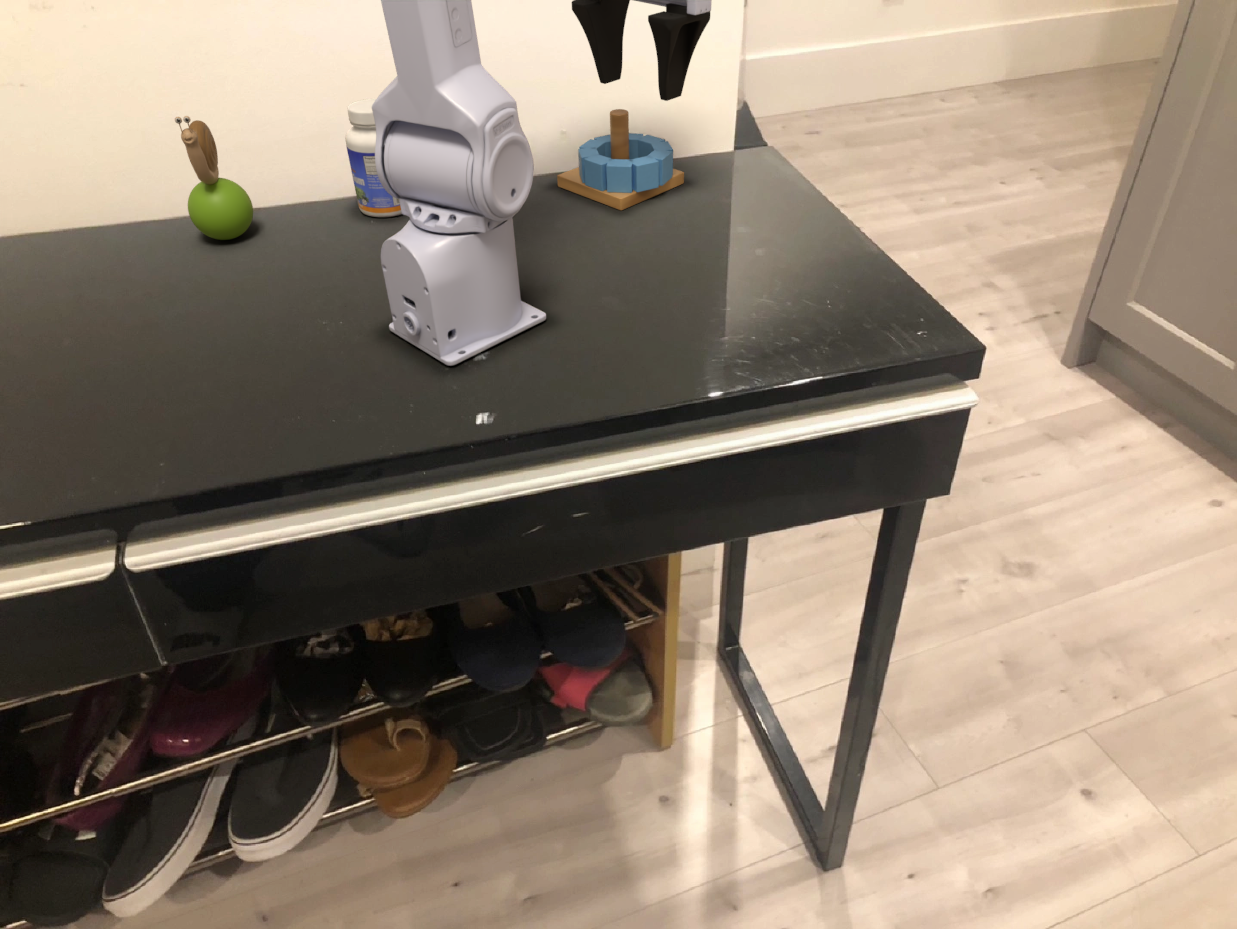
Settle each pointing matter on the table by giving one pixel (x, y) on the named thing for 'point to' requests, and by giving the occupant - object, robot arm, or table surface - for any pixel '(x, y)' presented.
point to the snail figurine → (213, 188)
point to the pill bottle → (367, 163)
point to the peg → (618, 151)
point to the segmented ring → (626, 164)
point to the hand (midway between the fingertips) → (639, 89)
